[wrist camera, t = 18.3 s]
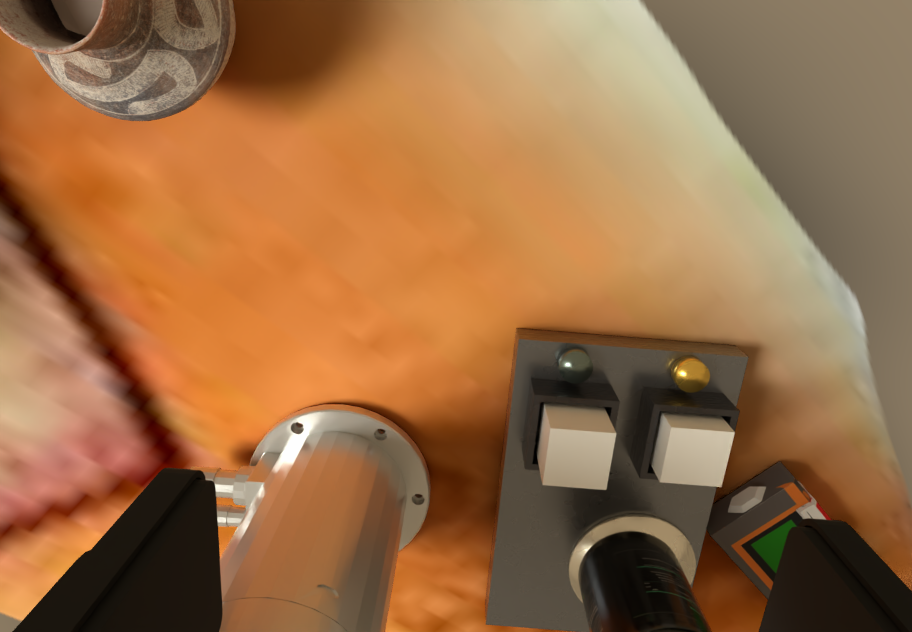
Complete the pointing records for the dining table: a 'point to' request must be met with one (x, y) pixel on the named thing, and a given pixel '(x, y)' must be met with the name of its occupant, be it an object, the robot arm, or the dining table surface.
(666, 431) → the white cube
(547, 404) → the block
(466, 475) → the dining table surface
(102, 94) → the pottery
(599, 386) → the breaker board
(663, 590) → the supplement bottle
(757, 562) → the electronic device
